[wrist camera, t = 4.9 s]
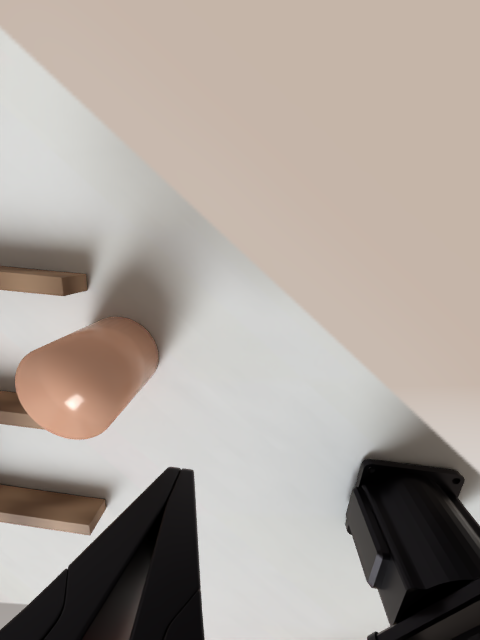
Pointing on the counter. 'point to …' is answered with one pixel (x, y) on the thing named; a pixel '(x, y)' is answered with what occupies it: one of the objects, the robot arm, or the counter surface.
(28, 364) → the peach domed cylinder
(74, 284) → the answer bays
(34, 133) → the counter surface
